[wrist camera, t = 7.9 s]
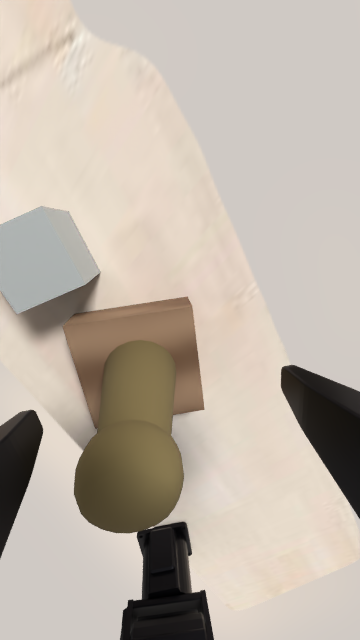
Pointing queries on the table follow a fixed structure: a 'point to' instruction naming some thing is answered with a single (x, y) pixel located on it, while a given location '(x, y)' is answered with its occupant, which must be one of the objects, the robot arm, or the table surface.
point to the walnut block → (130, 325)
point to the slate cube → (42, 258)
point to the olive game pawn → (132, 443)
